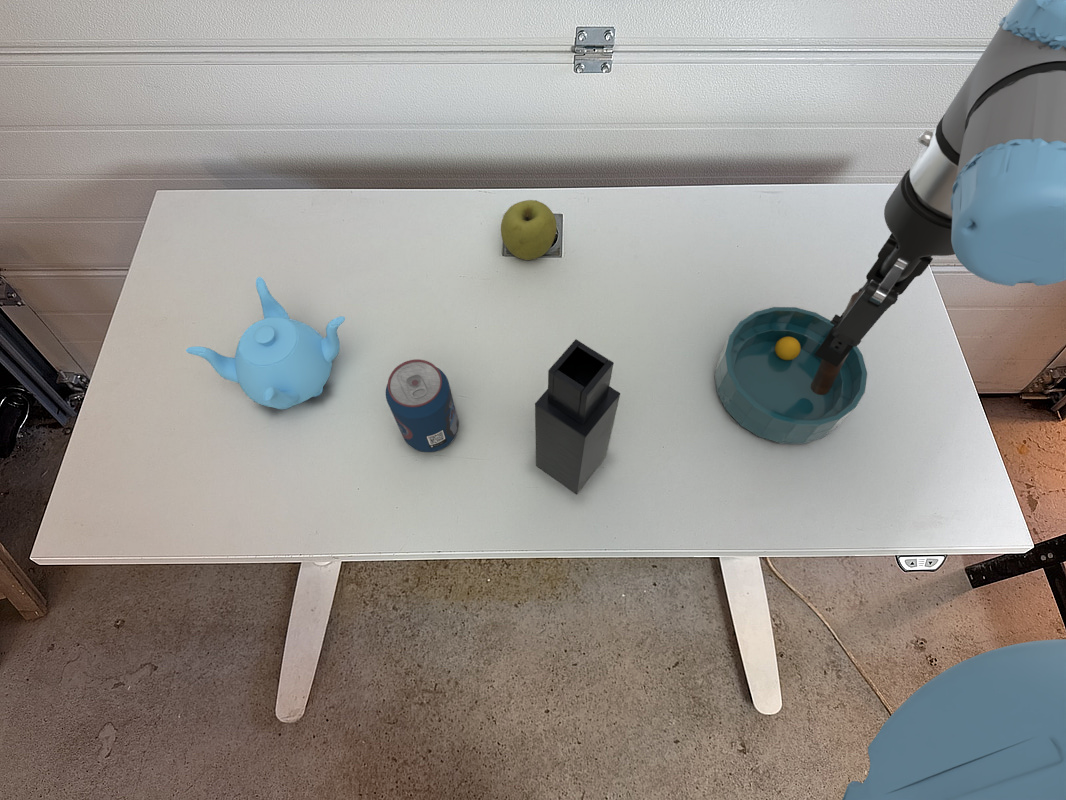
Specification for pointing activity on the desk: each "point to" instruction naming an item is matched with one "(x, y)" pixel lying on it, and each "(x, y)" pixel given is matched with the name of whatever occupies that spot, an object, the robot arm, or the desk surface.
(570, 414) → the holder
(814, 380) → the stick
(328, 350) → the teapot
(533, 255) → the apple
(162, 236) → the desk surface
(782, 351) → the ball
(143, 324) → the desk surface
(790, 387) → the bowl
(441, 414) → the soda can
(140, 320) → the desk surface
